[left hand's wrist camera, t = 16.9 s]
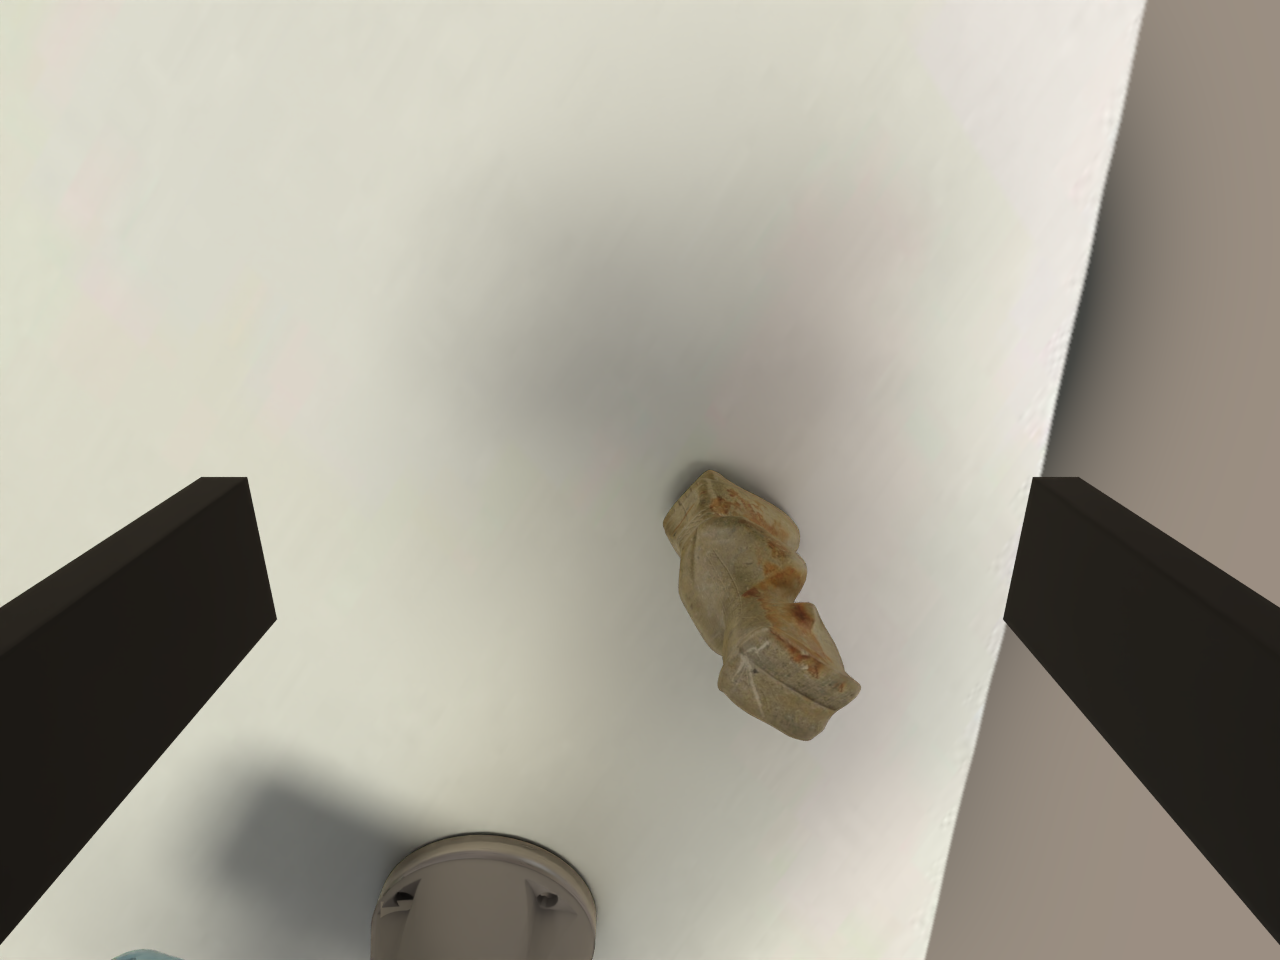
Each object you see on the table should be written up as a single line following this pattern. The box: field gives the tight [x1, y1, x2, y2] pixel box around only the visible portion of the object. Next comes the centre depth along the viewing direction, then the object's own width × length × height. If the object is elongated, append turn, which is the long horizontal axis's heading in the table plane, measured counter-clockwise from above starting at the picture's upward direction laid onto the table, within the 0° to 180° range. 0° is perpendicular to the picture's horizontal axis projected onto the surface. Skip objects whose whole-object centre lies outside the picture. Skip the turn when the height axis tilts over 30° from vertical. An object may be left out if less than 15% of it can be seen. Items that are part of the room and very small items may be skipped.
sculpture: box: [663, 470, 861, 741], centre depth 34 cm, size 6×7×15 cm
